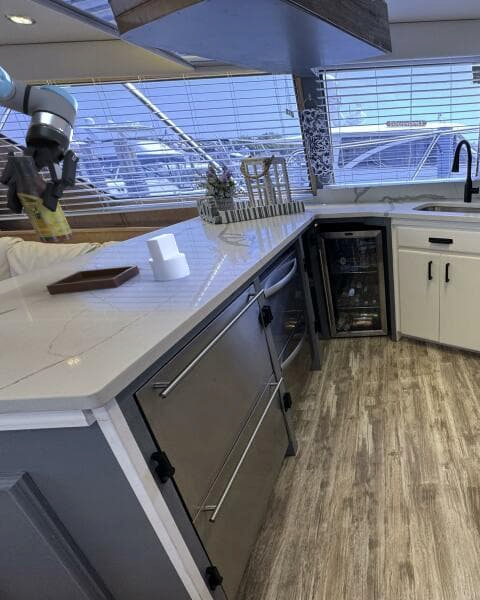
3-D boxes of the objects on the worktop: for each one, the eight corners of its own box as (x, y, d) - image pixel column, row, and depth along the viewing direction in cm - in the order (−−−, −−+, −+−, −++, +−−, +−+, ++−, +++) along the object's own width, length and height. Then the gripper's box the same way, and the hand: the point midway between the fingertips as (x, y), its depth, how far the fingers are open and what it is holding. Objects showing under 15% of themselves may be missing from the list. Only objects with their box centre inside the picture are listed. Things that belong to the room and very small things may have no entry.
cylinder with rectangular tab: (165, 272, 102) (152, 234, 97) (195, 270, 102) (184, 232, 98) (148, 282, 93) (133, 241, 89) (181, 279, 94) (167, 239, 89)
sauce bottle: (36, 243, 80) (-9, 157, 72) (67, 237, 86) (29, 156, 78) (49, 244, 78) (5, 155, 70) (81, 239, 83) (42, 155, 75)
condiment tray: (50, 294, 87) (45, 286, 86) (82, 278, 99) (78, 271, 98) (116, 287, 90) (113, 279, 89) (139, 273, 102) (137, 265, 101)
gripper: (102, 147, 89) (91, 216, 81) (18, 149, 85) (-3, 222, 77) (82, 123, 82) (66, 195, 74) (-11, 124, 78) (-38, 201, 70)
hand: (31, 209), depth 75 cm, fingers closed on sauce bottle, 6 cm apart
